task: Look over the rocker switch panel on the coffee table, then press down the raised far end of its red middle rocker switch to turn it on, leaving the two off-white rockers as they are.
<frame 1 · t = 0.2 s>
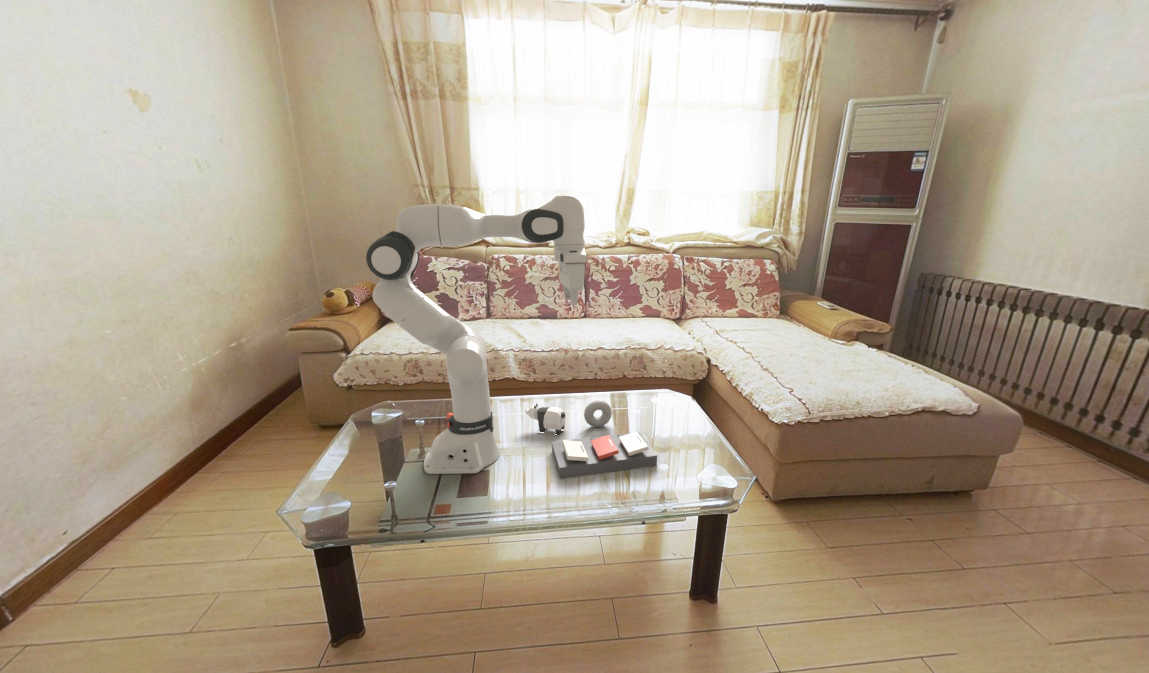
hand: (570, 302, 124), 47 cm above the table, tool pointing down, fingers open, 8 cm apart
giant panda: (547, 431, 146), on the table
rocker left: (574, 450, 123), point 5 cm above the table, hinge at 12.0°
rocker right: (633, 443, 127), point 5 cm above the table, hinge at -12.0°
rocker middle: (604, 446, 125), point 5 cm above the table, hinge at -12.0°
rocker switch panel: (602, 458, 128), on the table
donut: (598, 427, 149), on the table
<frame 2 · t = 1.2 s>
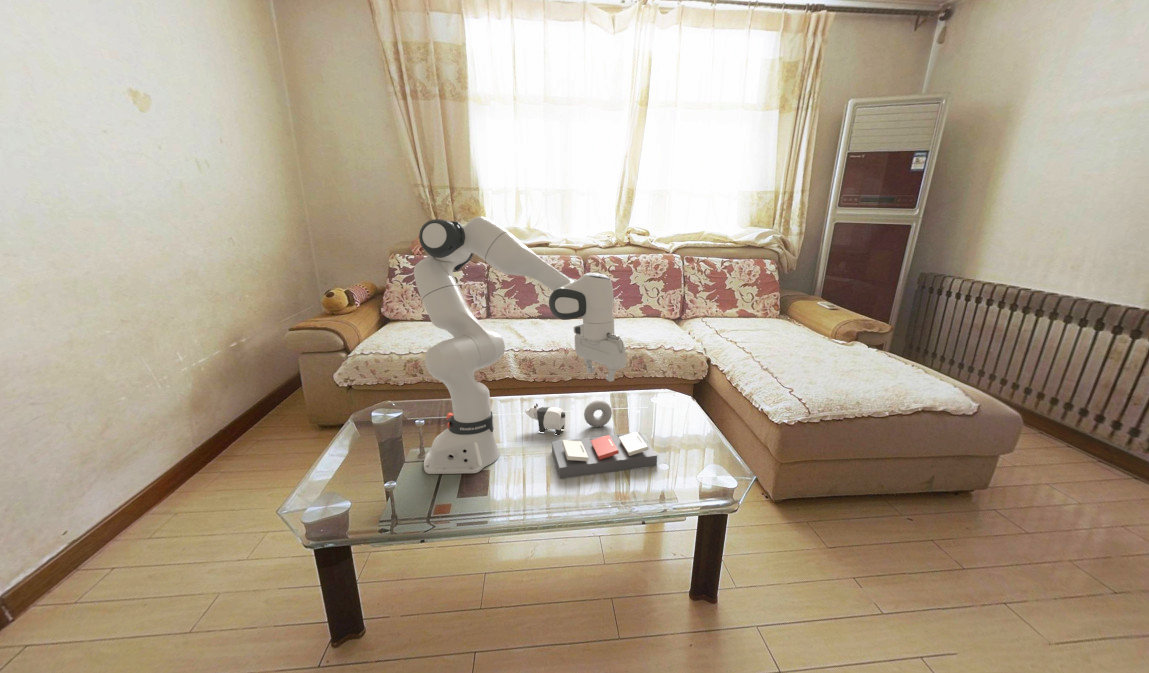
hand: (600, 376, 123), 26 cm above the table, tool pointing down, fingers open, 8 cm apart
nothing on the table moved.
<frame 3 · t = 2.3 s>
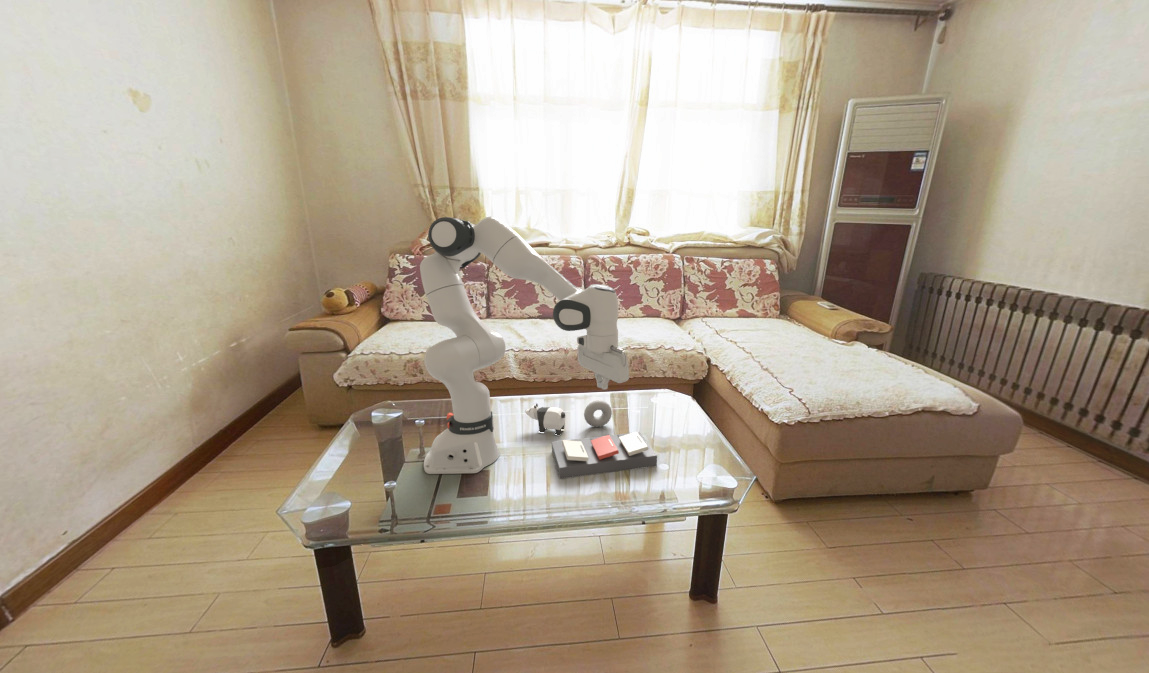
hand: (602, 388, 122), 23 cm above the table, tool pointing down, fingers closed
nothing on the table moved.
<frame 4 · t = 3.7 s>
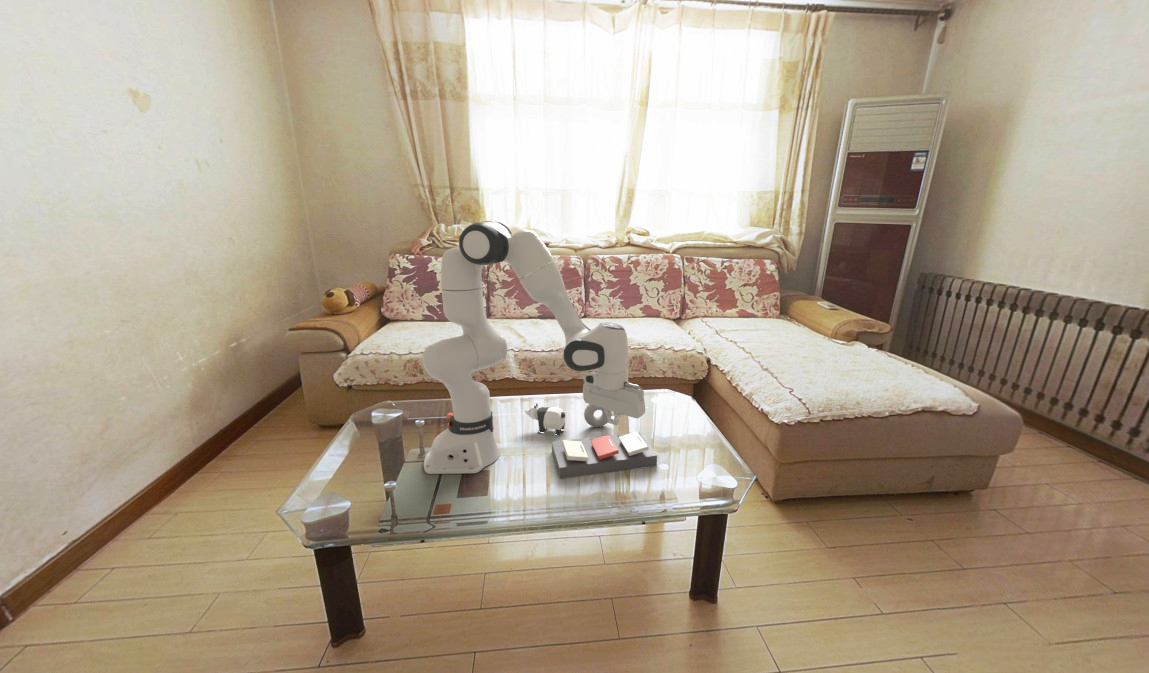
hand: (613, 423, 123), 13 cm above the table, tool pointing down, fingers closed
nothing on the table moved.
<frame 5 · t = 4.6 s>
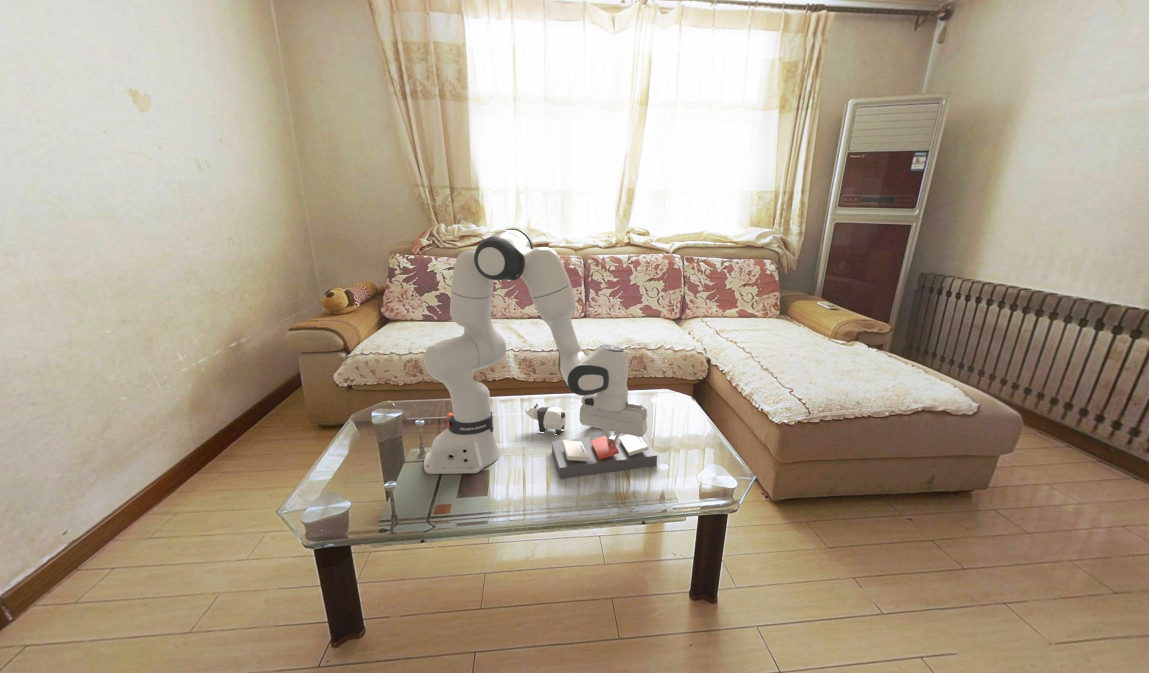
hand: (612, 443, 125), 6 cm above the table, tool pointing down, fingers closed, pressing on rocker middle
rocker middle: (604, 446, 125), point 5 cm above the table, hinge at -12.0°, touching gripper
everything else where it was.
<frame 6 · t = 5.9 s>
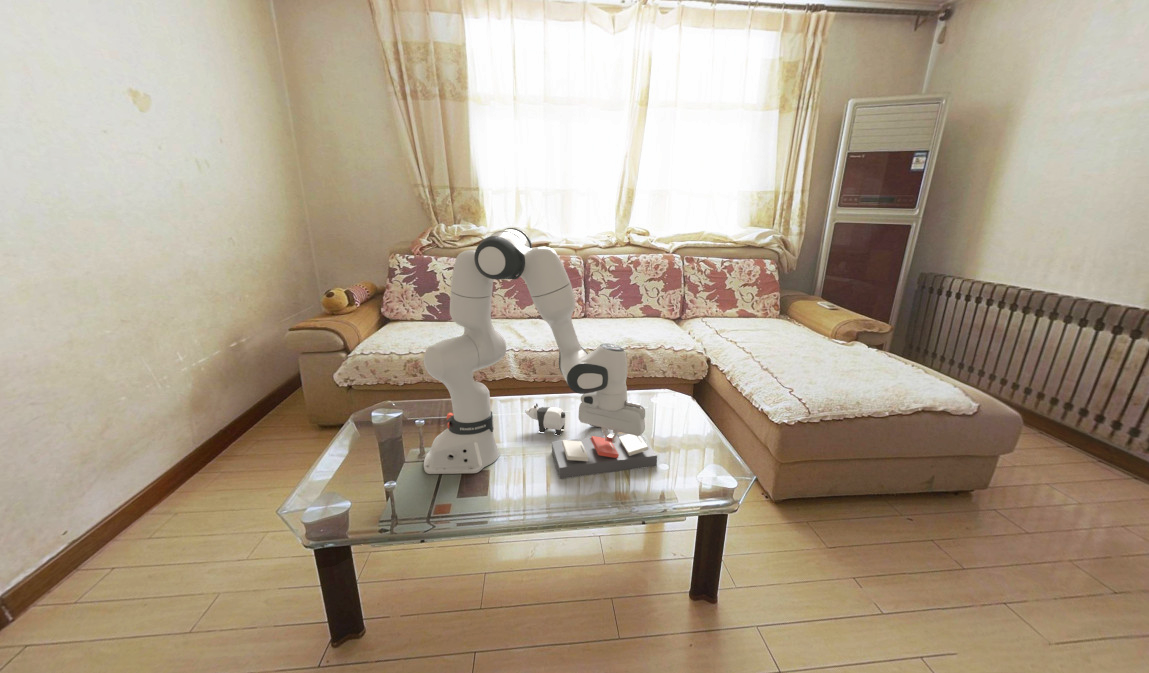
hand: (610, 441, 126), 6 cm above the table, tool pointing down, fingers closed
rocker middle: (604, 446, 125), point 5 cm above the table, hinge at 17.3°
everything else where it was.
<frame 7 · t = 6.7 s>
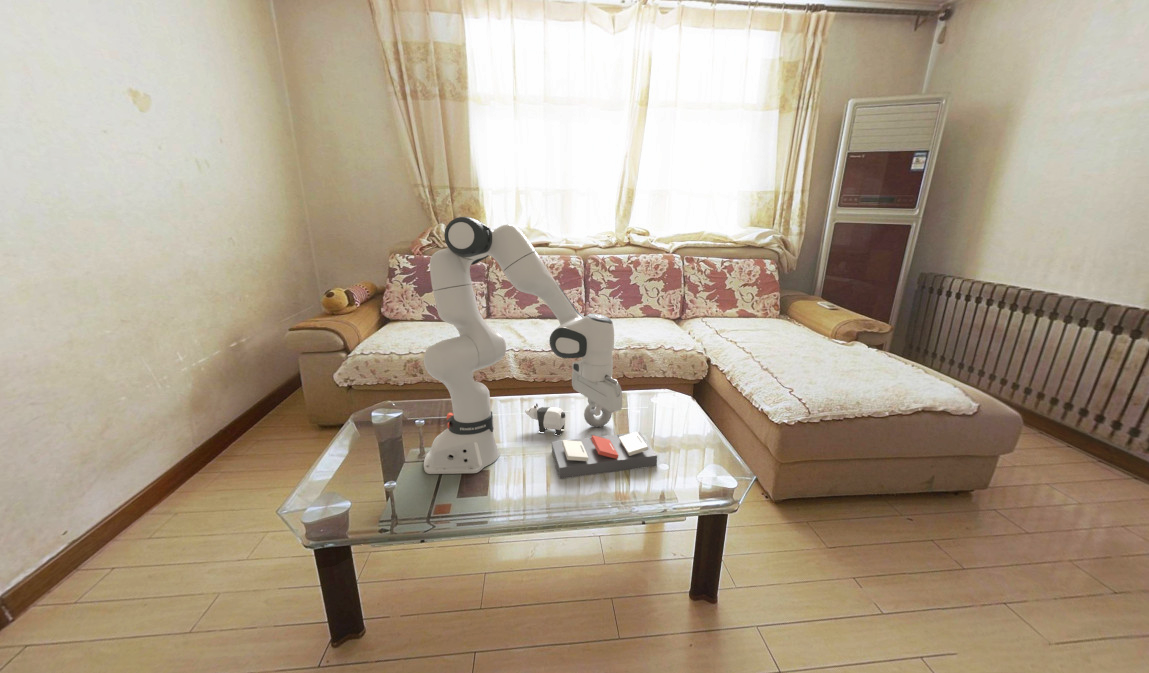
hand: (595, 413, 125), 15 cm above the table, tool pointing down, fingers closed
rocker middle: (604, 446, 125), point 5 cm above the table, hinge at 22.3°
everything else where it was.
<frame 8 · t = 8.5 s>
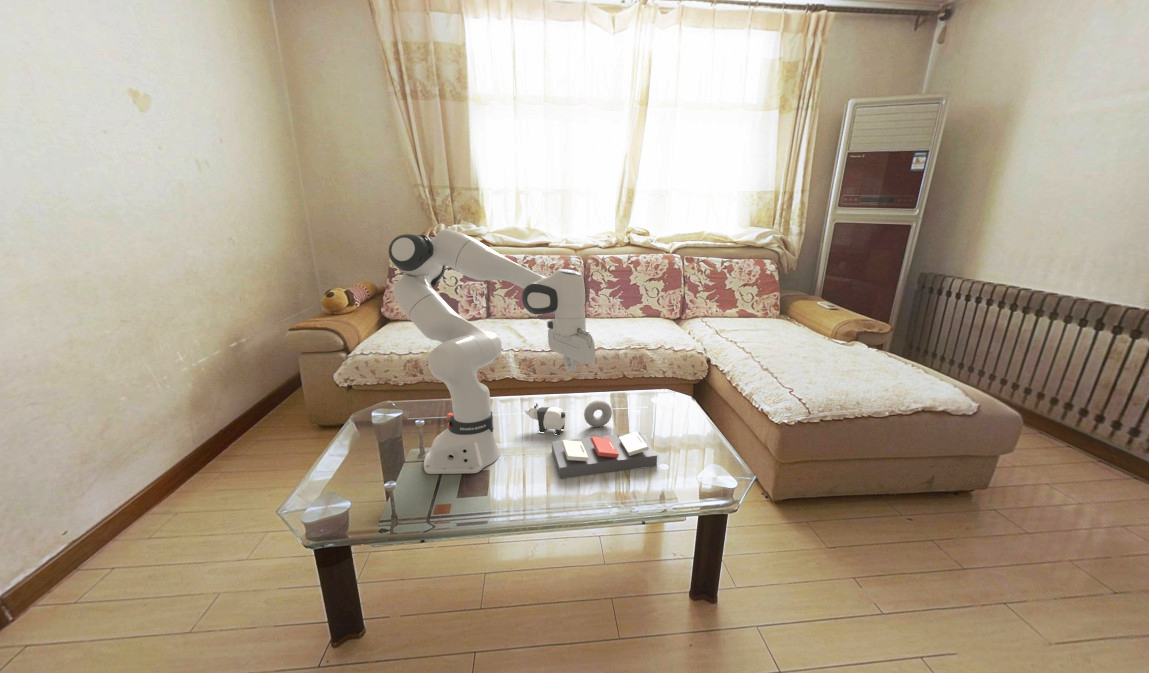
hand: (571, 370, 125), 27 cm above the table, tool pointing down, fingers closed
rocker middle: (604, 446, 125), point 5 cm above the table, hinge at 14.0°
everything else where it was.
at the end: rocker middle at +13° (first picture: -12°); rocker left at +12° (first picture: +12°); rocker right at -12° (first picture: -12°) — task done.
